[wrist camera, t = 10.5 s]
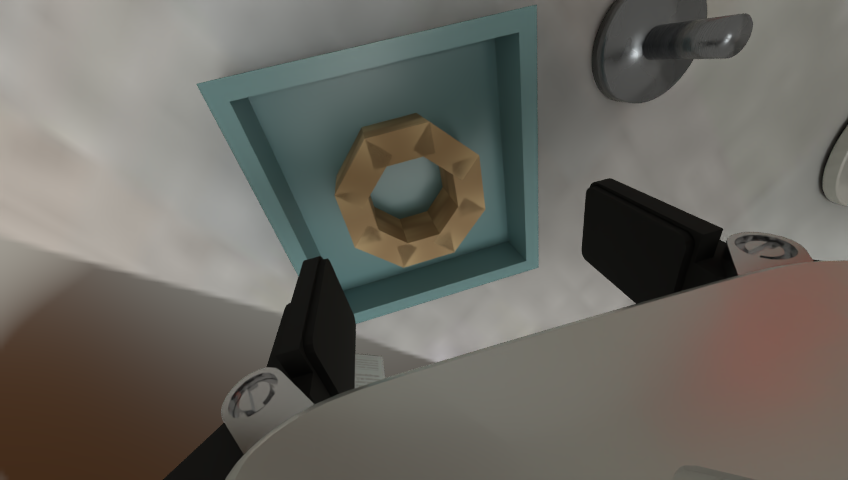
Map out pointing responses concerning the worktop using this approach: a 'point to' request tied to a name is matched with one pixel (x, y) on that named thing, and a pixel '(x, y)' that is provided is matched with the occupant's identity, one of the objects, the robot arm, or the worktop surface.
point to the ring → (422, 231)
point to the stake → (659, 45)
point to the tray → (404, 182)
